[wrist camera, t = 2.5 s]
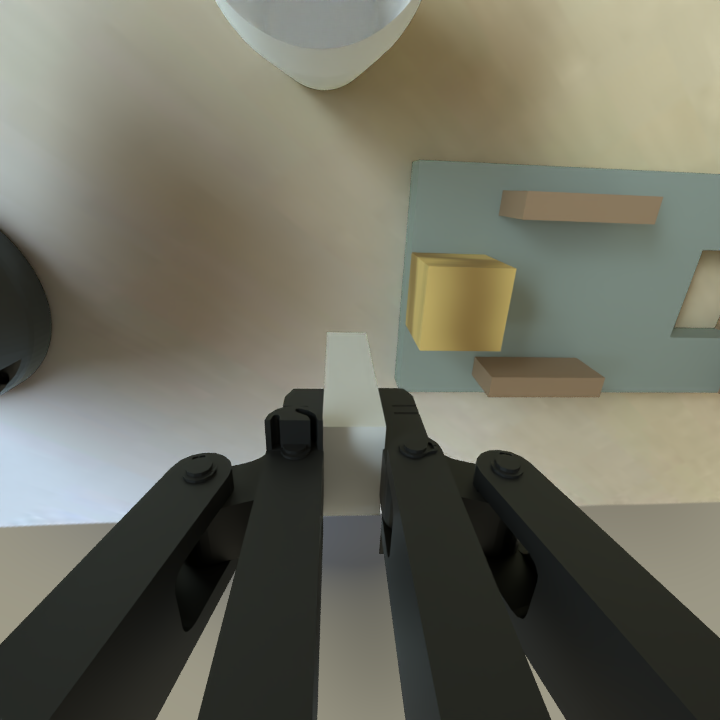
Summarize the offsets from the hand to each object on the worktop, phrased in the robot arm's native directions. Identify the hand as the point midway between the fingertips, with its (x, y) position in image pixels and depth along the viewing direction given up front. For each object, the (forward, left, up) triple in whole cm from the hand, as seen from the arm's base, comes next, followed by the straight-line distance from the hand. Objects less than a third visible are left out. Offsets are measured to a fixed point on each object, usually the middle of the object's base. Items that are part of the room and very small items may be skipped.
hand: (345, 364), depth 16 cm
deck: (+18, 0, -15) cm, 23 cm away
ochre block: (+7, 0, -12) cm, 14 cm away
